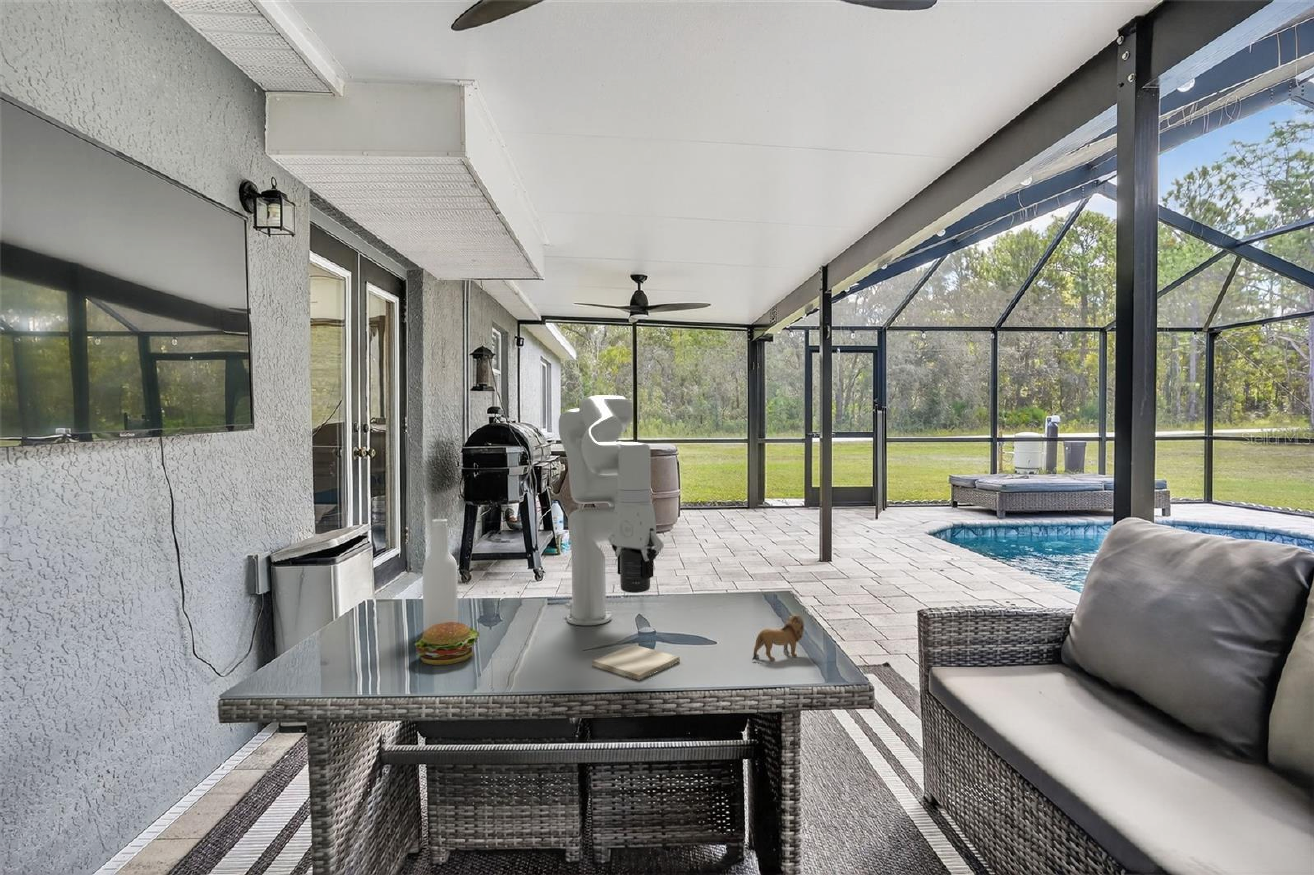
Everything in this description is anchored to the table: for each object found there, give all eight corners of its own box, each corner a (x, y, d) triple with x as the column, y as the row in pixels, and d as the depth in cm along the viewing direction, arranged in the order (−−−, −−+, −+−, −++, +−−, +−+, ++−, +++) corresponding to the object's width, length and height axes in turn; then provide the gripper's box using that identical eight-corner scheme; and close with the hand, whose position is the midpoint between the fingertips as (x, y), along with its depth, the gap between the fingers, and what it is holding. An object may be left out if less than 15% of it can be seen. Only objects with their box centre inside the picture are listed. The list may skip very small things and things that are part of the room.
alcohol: (416, 634, 168) (414, 521, 168) (439, 624, 177) (438, 517, 177) (442, 637, 165) (441, 522, 165) (464, 628, 173) (463, 518, 173)
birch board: (592, 665, 143) (592, 660, 143) (634, 649, 154) (634, 644, 154) (639, 680, 134) (638, 675, 134) (679, 662, 145) (679, 657, 145)
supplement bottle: (619, 586, 147) (619, 534, 147) (649, 585, 148) (648, 534, 148) (620, 593, 141) (620, 539, 141) (651, 592, 141) (650, 538, 141)
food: (454, 671, 141) (454, 635, 141) (404, 664, 146) (404, 629, 146) (491, 651, 154) (491, 618, 154) (444, 645, 159) (443, 613, 159)
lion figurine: (795, 648, 154) (794, 611, 154) (810, 654, 149) (809, 616, 149) (745, 658, 147) (745, 620, 147) (760, 666, 142) (759, 626, 142)
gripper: (595, 496, 147) (596, 573, 147) (652, 500, 136) (653, 584, 136) (618, 494, 153) (618, 568, 153) (674, 498, 142) (675, 578, 142)
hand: (635, 575), depth 144 cm, fingers closed on supplement bottle, 6 cm apart
